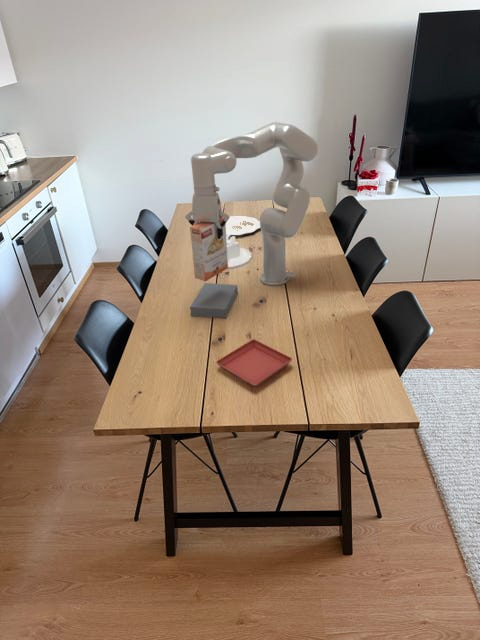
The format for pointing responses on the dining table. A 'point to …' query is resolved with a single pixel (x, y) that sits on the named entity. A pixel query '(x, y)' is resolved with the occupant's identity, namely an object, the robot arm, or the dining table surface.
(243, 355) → the plant saucer
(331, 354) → the dining table surface
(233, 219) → the plate
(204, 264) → the cracker box
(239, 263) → the dish
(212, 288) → the base block
